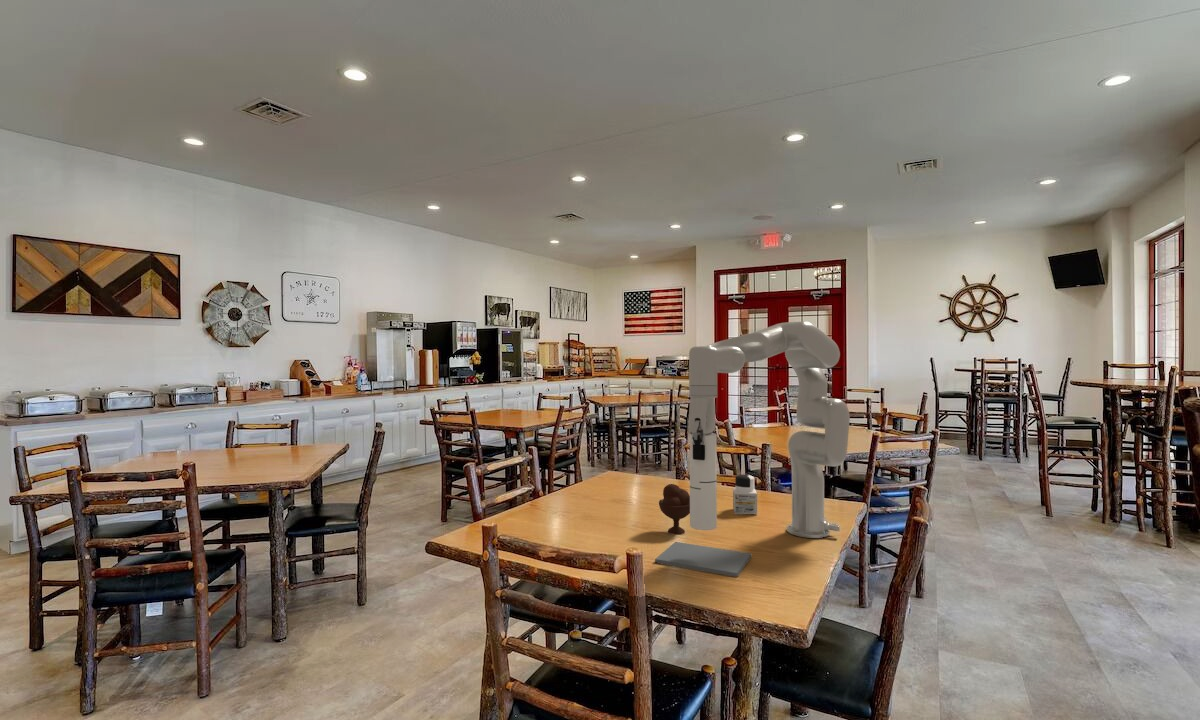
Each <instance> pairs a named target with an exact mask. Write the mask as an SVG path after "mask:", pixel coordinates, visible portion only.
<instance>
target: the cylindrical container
mask: <svg viewBox="0 0 1200 720" xmlns="http://www.w3.org/2000/svg"><path fill="white" fill-rule="evenodd" d="M698 433H702V432H698ZM717 436H718V435H717V433H714V432H713V433H709V434H707V435H705V438H704V445H705V460H694V459H693V443H692V442H693V439H692V437H693V435H692V434H690V433H689V495H690V513H689V528H691V529H694V530H699V531H712V530H715V529H717V528H718V527H717V526H718V525H717V523H718V521H717V516H718V515H717V514H718V513H717V512H718V509H717V507H718V506H717V505H718V504H717V503H718V500H717V498H718V497H717V495H718V494H717V491H718V490H717V481H718V480H717V477H718V476H717V457H718V456H717V455H718V454H717V453H718V452H717V439H718V438H717ZM700 438H701V436H700Z"/></svg>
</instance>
